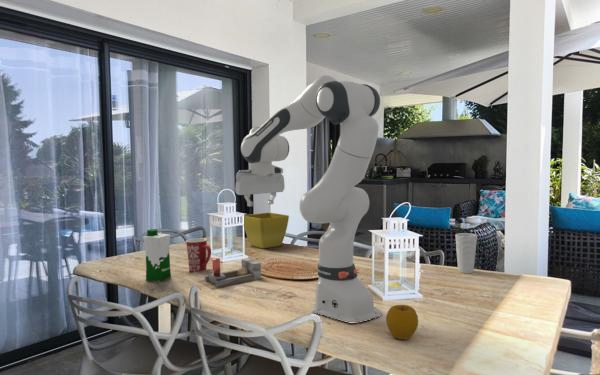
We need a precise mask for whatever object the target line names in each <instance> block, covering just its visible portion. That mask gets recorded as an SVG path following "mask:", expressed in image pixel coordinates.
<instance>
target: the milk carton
mask: <svg viewBox="0 0 600 375" xmlns="http://www.w3.org/2000/svg"><path fill="white" fill-rule="evenodd" d="M142 239H143V243H144V248H145V267H146V268H145V281H147V280H153V281H152V282H158V281H161V282H163V281H165V280H164V279H166V278H168V277H170V278H172V274H171V262H170V260H171V259H170V239H171V234H170V233H169V234H167V233H158V229H156V228H155V229H152V228H151V229H147V230H146V235H144V236H143V237H142ZM168 279H169V278H168ZM162 280H163V281H162ZM166 280H167V279H166Z"/></svg>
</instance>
